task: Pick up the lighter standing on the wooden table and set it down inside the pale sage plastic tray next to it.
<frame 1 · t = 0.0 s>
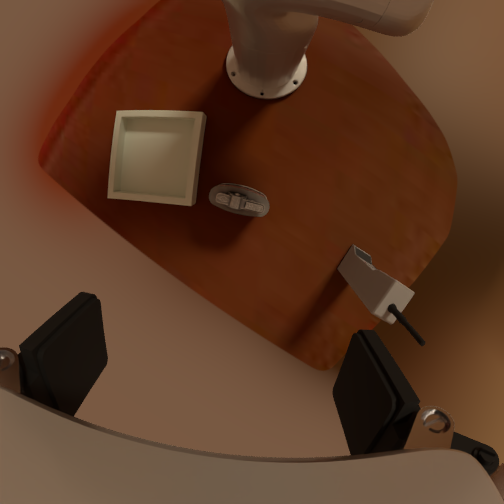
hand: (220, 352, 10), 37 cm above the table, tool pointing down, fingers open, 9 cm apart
tray: (158, 156, 43), on the table
lighter: (241, 195, 45), on the table
vintage mobile phone: (352, 260, 47), on the table
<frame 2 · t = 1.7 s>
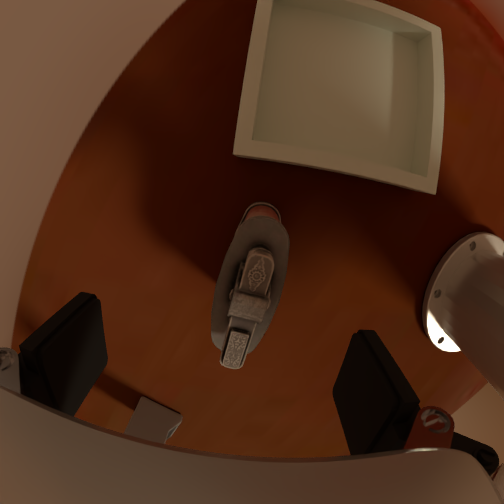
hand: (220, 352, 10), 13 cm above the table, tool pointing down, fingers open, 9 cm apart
tray: (343, 84, 18), on the table
lighter: (252, 252, 22), on the table
vintage mobile phone: (158, 411, 28), on the table
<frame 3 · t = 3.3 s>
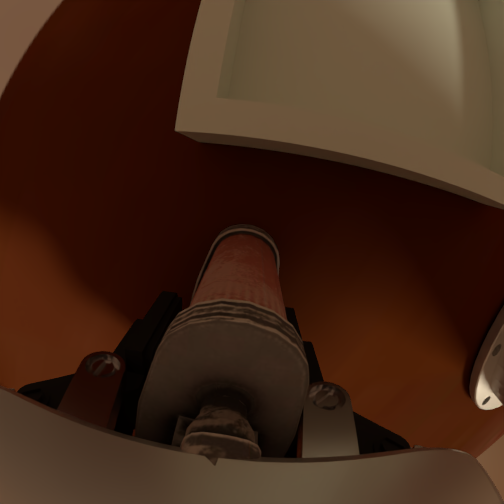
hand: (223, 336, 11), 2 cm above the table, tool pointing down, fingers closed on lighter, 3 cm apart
tray: (383, 27, 9), on the table
lighter: (229, 312, 13), on the table, touching gripper
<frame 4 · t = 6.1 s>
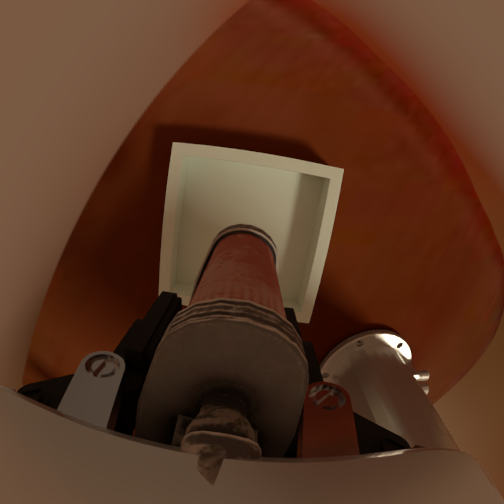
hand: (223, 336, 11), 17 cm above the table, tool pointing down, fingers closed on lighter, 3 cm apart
tray: (246, 229, 27), on the table
lighter: (228, 311, 13), point 15 cm above the table, touching gripper
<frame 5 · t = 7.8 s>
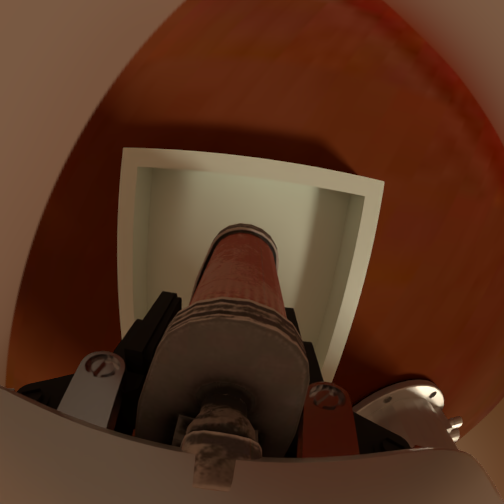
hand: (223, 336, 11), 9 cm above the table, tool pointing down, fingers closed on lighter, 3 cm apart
tray: (239, 268, 19), on the table
lighter: (228, 311, 13), point 7 cm above the table, touching gripper
when the fingers open (4 cm above the table, at t = 8.9 s): lighter drops 1 cm, resting on tray.
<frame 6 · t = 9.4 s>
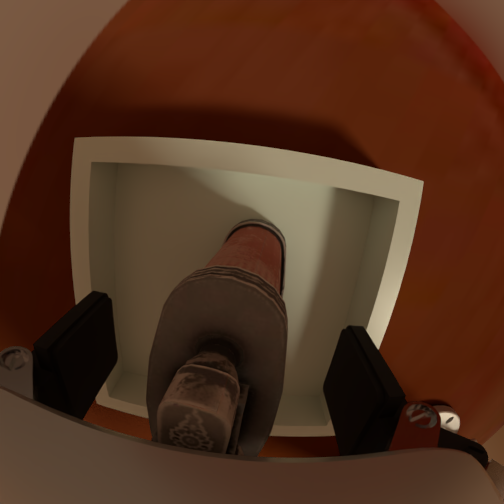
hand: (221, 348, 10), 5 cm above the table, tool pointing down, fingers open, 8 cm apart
tray: (231, 291, 15), on the table
lighter: (244, 300, 14), point 1 cm above the table, touching tray
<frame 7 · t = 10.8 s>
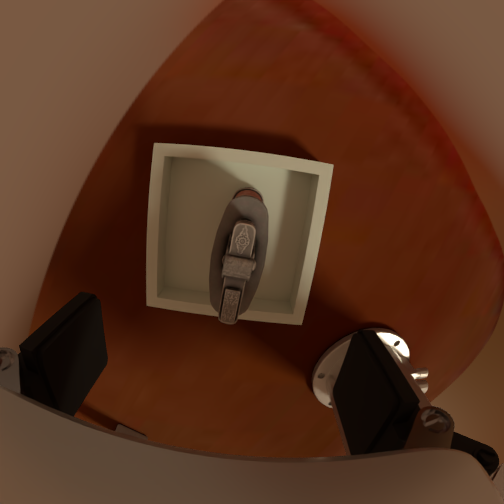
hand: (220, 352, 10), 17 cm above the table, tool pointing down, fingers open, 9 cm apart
tray: (234, 229, 26), on the table
lighter: (241, 232, 25), point 1 cm above the table, touching tray
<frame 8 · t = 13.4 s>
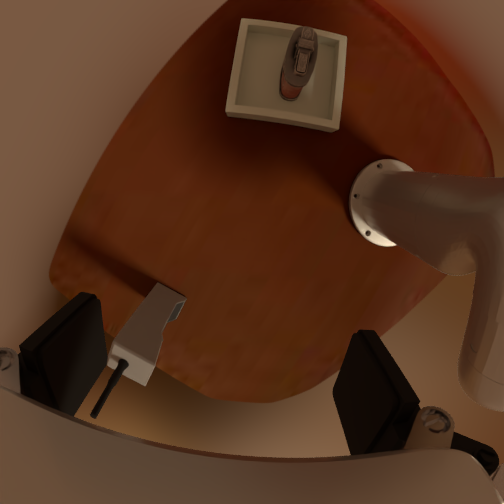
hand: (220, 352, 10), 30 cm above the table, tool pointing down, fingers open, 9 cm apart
tray: (286, 76, 33), on the table
lighter: (292, 75, 33), point 1 cm above the table, touching tray
vintage mobile phone: (168, 298, 43), on the table
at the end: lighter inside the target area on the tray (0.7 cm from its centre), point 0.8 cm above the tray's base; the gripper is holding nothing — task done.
